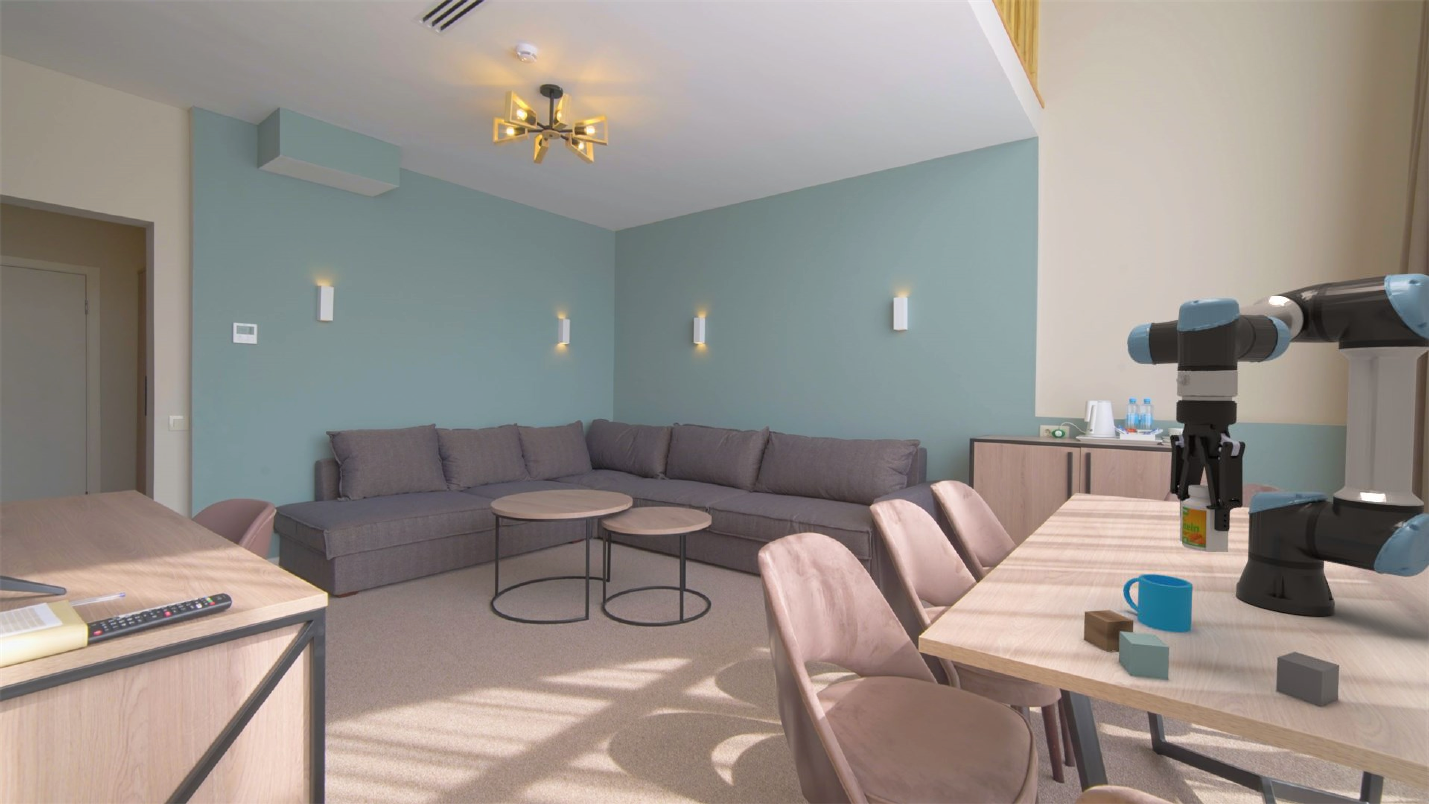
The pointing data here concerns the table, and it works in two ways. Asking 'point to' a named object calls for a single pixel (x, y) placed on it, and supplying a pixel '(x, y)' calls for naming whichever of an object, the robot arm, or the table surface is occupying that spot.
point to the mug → (1162, 602)
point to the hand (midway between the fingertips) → (1203, 545)
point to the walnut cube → (1105, 628)
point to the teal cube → (1144, 655)
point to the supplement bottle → (1195, 518)
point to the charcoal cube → (1307, 678)
